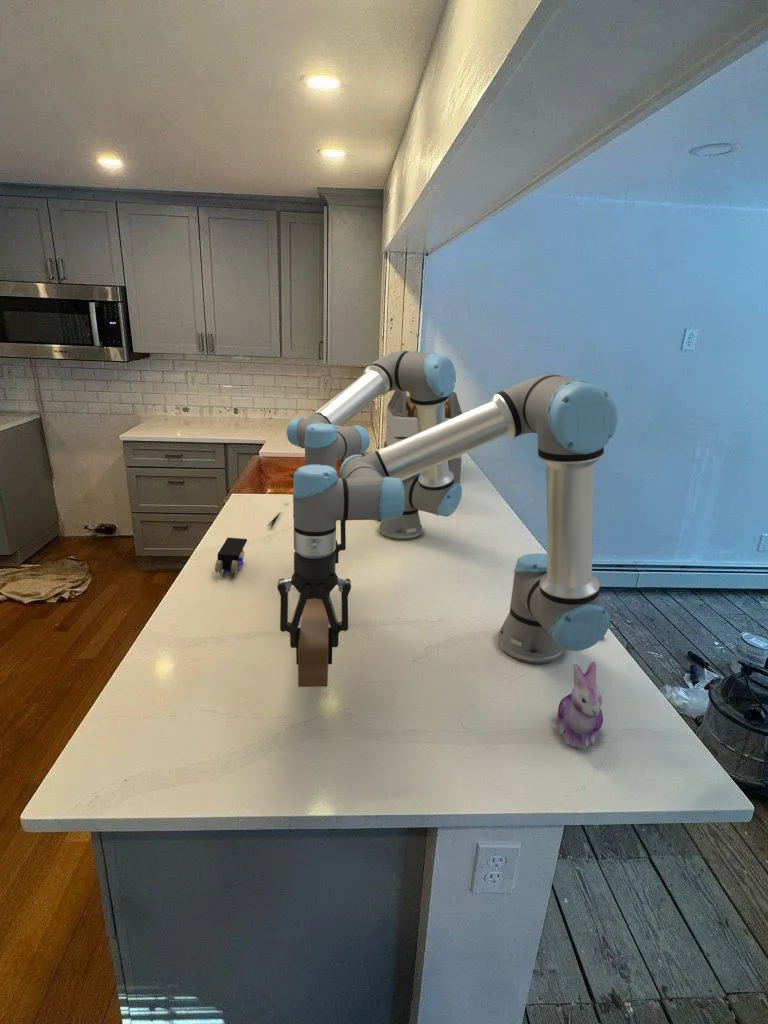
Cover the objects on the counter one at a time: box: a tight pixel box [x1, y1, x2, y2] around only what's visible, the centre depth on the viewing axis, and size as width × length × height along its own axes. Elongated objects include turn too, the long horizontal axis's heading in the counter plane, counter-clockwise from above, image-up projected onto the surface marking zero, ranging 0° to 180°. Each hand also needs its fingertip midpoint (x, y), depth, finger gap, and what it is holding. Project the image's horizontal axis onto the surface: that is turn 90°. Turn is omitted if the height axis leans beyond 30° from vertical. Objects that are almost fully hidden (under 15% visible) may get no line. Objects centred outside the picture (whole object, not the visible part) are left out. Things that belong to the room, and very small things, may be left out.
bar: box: [297, 598, 330, 688], centre depth 127 cm, size 53×5×8 cm, turn 4°
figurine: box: [556, 661, 604, 749], centre depth 106 cm, size 9×10×15 cm
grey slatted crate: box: [383, 390, 463, 484], centre depth 268 cm, size 34×33×41 cm
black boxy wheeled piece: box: [214, 537, 248, 578], centre depth 166 cm, size 7×8×15 cm
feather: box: [266, 512, 281, 529], centre depth 211 cm, size 2×28×2 cm
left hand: (320, 573), depth 146 cm, fingers closed on bar, 5 cm apart
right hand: (314, 660), depth 110 cm, fingers closed on bar, 5 cm apart
